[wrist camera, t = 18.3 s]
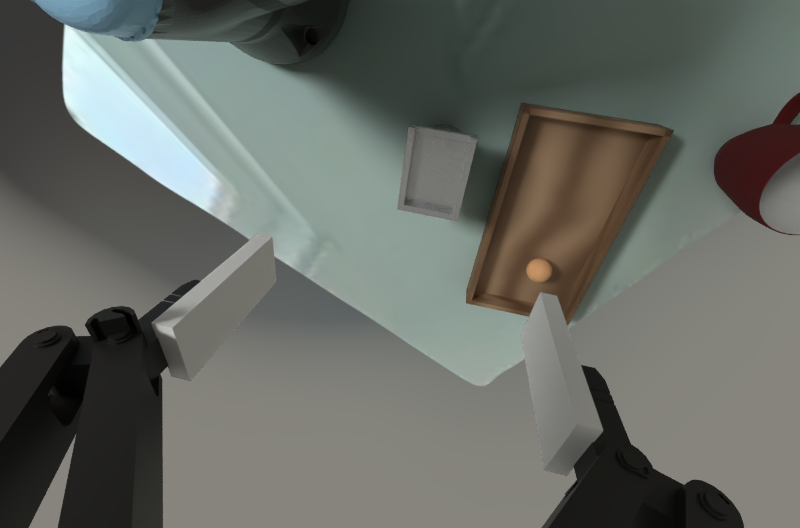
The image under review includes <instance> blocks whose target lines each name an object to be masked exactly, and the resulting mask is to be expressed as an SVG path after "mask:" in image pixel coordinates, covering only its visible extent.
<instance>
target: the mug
mask: <svg viewBox="0 0 800 528" xmlns="http://www.w3.org/2000/svg"><path fill="white" fill-rule="evenodd" d="M799 112H800V93H798V94H797V95H795V96H794V97H793V98H792V99H791V100H790V101H788V103H787V104H786V105H785V106H784V107H783V109H782V110H781V111H780V113H779V114H778V116H777V117H776V119H775V121H774V122H773V124H771V125H767V126H764V127H760V128H757V129H754V130H751V131H748V132H745V133H743V134H741V135H739V136H737V137H734V138H732V139H731V140H729V141H728V142H727V143H725V144H724V145H723V146H722V147H721V148H720V150H719V151H718V153H717V155H716V157H715V161H714V175H715V179H716V182H717V184H718V185H719V187H720V188H721V189H722V190H723V191H724V192H725V193H726V195H727V196H728V197H729V198H730V199H731V200H732V201H733V202H734V203H735V204H736V205H737V206H738V207H739V208H740V209H741V210H742V211H743V212H744V213H745V214H746V215H748V216H749V217H751V218H752V219H754V220H755V221H757V222H759V223H760V224H762V225H764V226H766V227H768V228H770V229H772V230H774V231H777V232H779V233H783V234H789V235H800V125H790V124H791V122H792V121H793V119H794V118H795V117H796V116H797V115H798V114H799Z"/></svg>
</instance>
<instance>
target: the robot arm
mask: <svg viewBox="0 0 800 528" xmlns="http://www.w3.org/2000/svg"><path fill="white" fill-rule="evenodd" d="M31 1H33V2H35V3H37V4H38V5H39V6H40V7H41V8H42V9H43V10H44V11H46V12H47V13H48V14H49V15H50V16H52V17H53V18H55V19H57V20H59V21H60V22H62V23H64V24H66V25H68V26H70V27H73V28H75V29H78V30H81V31H84V32H88V33H93V34H100V35H108V36H114V37H116V38H119V39H121V40H123V41H134V42H136V41H141V40H144V39H165V40H190V41H215V42H229V43H231V44H232V45H234V46H235V47H237V48H238V49H240V50H241V51H243V52H244V53H246V54H248V55H250V56H251V57H254V58H256V59H258V60H261V61H264V62H268V63H273V64H295V63H301V62H304V61H307V60H310V59H312V58H314V57H315V56H317V55H318V54H320V53H321V52H322V51H323V50H325V49H326V48H327V47H328V46H329V44H330V43H331V42H332V41H333V39H334V38H335V36H336V35H337V33H338V31H339V29H340V27H341V25H342V23H343V20H344V17H345V14H346V10H347V6H348V1H349V0H31ZM275 282H276V271H275V261H274V250H273V240H272V237H271V236H266V235H261V234H257V235H256V236H254V237H253V238H252V239H251V240H250V241H248V242H247V243H246V244H245V245H244V246H243V247H241V248H240V249H239V250H238V251H237V252H235V253H234V254H233V255H232V256H231V257H229V258H228V259H227V260H226V261H225V262H223V263H222V264H221V265H220V266H219V267H217V268H216V269H215V270H214V271H213V272H211V273H210V274H209V275H208V276H207V277H206V278H204V279H203V280H202V281H198V280H193V281H191V282H188V283H186V284H184V285H182V286H181V287H179V288H178V289H177V290H175V291H174V292H173V293H172V295H169V296H168V297H167V298H165V299H164V301H163V302H160V303H159V304H158V305H156V306H155V307H154V308H153V309H152V310H150V311H149V312H148V313H146V314H145V315H144V316H143V317H141V318H140V319H139V320H138V319H137V316H136V314H135V311H134V310H133V309H131V308H130V307H123V306H120V307H111V308H108V309H104V310H102V311H100V312H98V313H96V314H94V315H93V316H92V317H90V318H89V319H88V320H87V322H86V324H85V326H86V328H87V330H88V332H89V333H90V335H91V336H75V334H74V332H73V330H72V329H71V328H70V327H67V326H52V327H47V328H44V329H42V330H39V331H36V332H34V333H33V334H31V335H29V336H27V337H26V338H25V339H24V340H23V341H22V342H21V343H20V344H19V345H18V347H17V348H16V349H15V350H14V351H13V353H12V354H11V355H10V356H9V358H8V359H7V360H6V361H5V362H4V364H3V365H2V366H1V367H0V528H28V527H29V526H30V523H31V522H32V520H33V518H34V516H35V513H36V512H37V510H38V508H39V506H40V504H41V502H42V500H43V498H44V496H45V494H46V492H47V490H48V488H49V486H50V484H51V482H52V480H53V478H54V476H55V474H56V472H57V470H58V468H59V466H60V464H61V462H62V460H63V458H64V456H65V454H66V452H67V451H68V449H69V447H70V444H71V443H72V441H73V439H74V437H75V435H76V438H75V444H74V449H73V454H72V459H71V464H70V469H69V474H68V479H67V484H66V489H65V494H64V499H63V504H62V509H61V515H60V520H59V524H58V528H163V485H162V484H163V479H162V478H163V474H162V473H163V471H162V470H163V469H162V468H163V467H162V464H163V458H162V377H161V375H160V373H161V372H162V371H163V370H164V369H165V368H166V367H167V366H168V368H169V371H170V373H171V376H172V377H176V378H180V379H184V380H188V381H191V380H192V378H193V377H194V376H195V375H196V374H197V373H198V372H199V370H200V369H201V368H202V367H203V366H204V365H205V363H206V362H207V361H208V360H209V359H210V358H211V357H212V355H213V354H214V353H215V352H216V350H218V348H219V347H220V346H221V345H222V344H223V343H224V341H225V340H226V339H227V338H228V337H229V335H231V333H232V332H233V331H234V330H235V329H236V328H237V327H238V325H239V324H240V323H241V322H242V321H243V320H244V318H245V317H246V316H247V315H248V314H249V312H250V311H251V310H252V309H253V308H254V307H255V306H256V304H257V303H258V302H259V301H260V300H261V299H262V297H263V296H264V295H265V294H266V293H267V292H268V291H269V289H270V288H271V287H272V286H273V285H274V283H275ZM521 338H522V343H523V349H524V355H525V361H526V367H527V372H528V379H529V385H530V390H531V396H532V402H533V408H534V414H535V420H536V426H537V432H538V438H539V443H540V450H541V456H542V461H543V467H544V470H546V471H550V472H554V473H558V474H561V475H566V476H567V475H568V474H569V472H570V471H571V470H572V469H573V468H574V469H575V473H576V477H577V480H576V482H575V483H574V484H573V485H572V486H571V487H570V489H569V490H568V491H567V492H566V493H565V497H564V498H563V499H562V501H561V502H560V504H559V505H558V506H557V507H556V509H555V510H554V512H553V513H552V514H551V516H550V517H549V518H548V520H547V521H546V523H545V524H544V525H543V527H542V528H744V524H743V521H742V518H741V515H740V513H739V511H738V510H737V509H736V507H735V505H734V504H733V503H732V502H731V501H730V500H729V499H728V498H727V497H726V496H725V495H724V494H723V493H722V492H721V491H719V490H718V489H717V488H715V487H714V486H712V485H710V484H708V483H706V482H704V481H701V480H691V481H689V482H688V483H686V484H685V485H683V484H681V483H679V482H677V481H675V480H673V479H672V478H670V477H668V476H666V475H664V474H662V473H660V472H658V471H657V470H655V469H653V467H652V465H651V463H650V462H649V460H648V459H647V457H646V456H645V455H644V454H643V453H642V452H641V451H640V450H639V449H637V448H636V447H634V446H633V445H631V443H630V441H629V439H628V436H627V433H626V431H625V429H624V426H623V424H622V421H621V419H620V416H619V414H618V411H617V409H616V406H615V405H614V401H613V399H612V396H611V395H610V391H609V389H608V386H607V384H606V381H605V380H604V378H603V377H602V376H601V375H600V373H599V372H598V371H597V370H596V369H595V368H592V367H587V366H583V365H581V364H580V361H579V358H578V355H577V352H576V349H575V347H574V344H573V341H572V338H571V335H570V332H569V329H568V326H567V323H566V320H565V318H564V315H563V312H562V309H561V306H560V303H559V300H558V297H557V296H556V295H551V294H547V293H542V292H540V294H539V296H538V298H537V300H536V302H535V305H534V307H533V309H532V311H531V314H530V316H529V318H528V320H527V323H526V325H525V327H524V329H523V331H522V334H521Z"/></svg>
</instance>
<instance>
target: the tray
mask: <svg viewBox="0 0 800 528" xmlns="http://www.w3.org/2000/svg"><path fill="white" fill-rule="evenodd" d="M673 131H674V130H671V129H669V128H666V127H663V126H661V125H657V124H651V123H645V122H638V121H632V120H626V119H620V118H613V117H607V116H601V115H594V114H588V113H582V112H576V111H569V110H563V109H557V108H550V107H544V106H538V105H532V104H525V103H521V107H520V110H519V114H518V117H517V120H516V124H515V127H514V131H513V134H512V137H511V141H510V144H509V148H508V151H507V154H506V158H505V161H504V165H503V168H502V171H501V175H500V178H499V182H498V185H497V188H496V192H495V195H494V199H493V202H492V205H491V209H490V212H489V216H488V219H487V222H486V226H485V229H484V233H483V236H482V239H481V243H480V246H479V250H478V253H477V256H476V260H475V263H474V267H473V270H472V273H471V277H470V280H469V284H468V287H467V292H466V303H468V304H473V305H478V306H482V307H487V308H492V309H496V310H501V311H506V312H510V313H515V314H520V315H524V316H530V314H531V311H532V309H533V307H534V305H535V302H536V300H537V298H538V296H539V294H540V292H542V293H547V294H551V295H556V296H557V297H558V300H559V303H560V306H561V309H562V312H563V315H564V318H565V320H566V323H567V325H568V324H569V322H570V321H571V319H572V317H573V315H574V313H575V311H576V310H577V308H578V306H579V304H580V302H581V300H582V299H583V297H584V295H585V293H586V291H587V289H588V287H589V286H590V284H591V282H592V280H593V278H594V276H595V275H596V273H597V271H598V269H599V267H600V265H601V264H602V262H603V260H604V258H605V256H606V254H607V253H608V251H609V249H610V247H611V245H612V243H613V241H614V240H615V238H616V236H617V234H618V232H619V230H620V229H621V227H622V225H623V223H624V221H625V219H626V218H627V216H628V214H629V212H630V210H631V208H632V206H633V205H634V203H635V201H636V199H637V197H638V195H639V194H640V192H641V190H642V188H643V186H644V184H645V183H646V181H647V179H648V177H649V175H650V173H651V171H652V170H653V168H654V166H655V164H656V162H657V160H658V159H659V157H660V155H661V153H662V151H663V149H664V148H665V146H666V144H667V142H668V140H669V138H670V137H671V135H672V133H673ZM538 258H541V259H544V260H546V261H548V262H549V263H550V265H551V267H552V274H551V276H550V278H549V279H548V280H546V281H544V282H534V281H532V280H531V279H530V278H529V277H528V275H527V273H526V268H527V265H528V264H529V262H530V261H532V260H534V259H538Z"/></svg>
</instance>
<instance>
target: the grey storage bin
mask: <svg viewBox="0 0 800 528" xmlns="http://www.w3.org/2000/svg"><path fill="white" fill-rule="evenodd" d="M477 140H478V137H477V135H471V134H465V133H461V132H460V131H459V130H458V129H456V128H454V127H451V126H448V125H437V126H433V127H425V126H419V125H414V124H411V125H410V126H409V127H408V134H407V141H406V149H405V156H404V163H403V171H402V178H401V186H400V193H399V201H398V208H397V209H398V210H403V211H408V212H414V213H419V214H424V215H429V216H434V217H439V218H444V219H449V220H454V221H458V217H459V213H460V209H461V205H462V201H463V196H464V192H465V188H466V184H467V180H468V176H469V172H470V168H471V164H472V160H473V156H474V152H475V148H476V144H477Z"/></svg>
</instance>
